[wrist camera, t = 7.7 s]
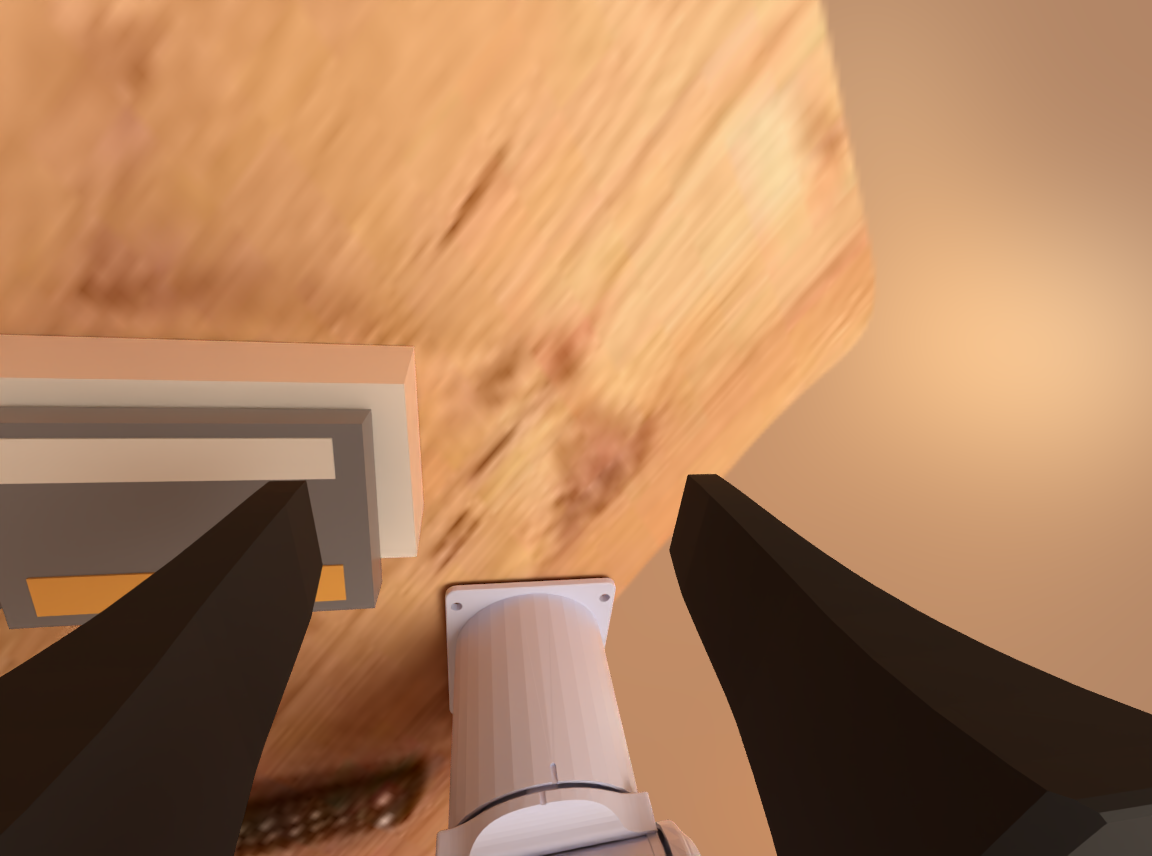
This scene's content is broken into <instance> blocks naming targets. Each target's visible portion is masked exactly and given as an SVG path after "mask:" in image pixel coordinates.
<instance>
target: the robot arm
mask: <svg viewBox="0 0 1152 856" xmlns="http://www.w3.org/2000/svg"><path fill="white" fill-rule="evenodd" d="M670 554H671V558H672V562H673V566H674V569H675V573H676V577H677V580H678V583H679V586H680V590H681V593H682V596H683V598H684V601H685V603H686V606H687V608H688V610H689V613H690V615H691V617H692V620H693V622H694V624H695V626H696V629H697V631H698V634H699V636H700V638H701V640H702V643H703V645H704V647H705V650H706V652H707V654H708V656H709V659H710V661H711V663H712V666H713V668H714V670H715V672H716V675H717V677H718V679H719V681H720V684H721V686H722V688H723V691H724V693H725V695H726V697H727V700H728V703H729V705H730V707H731V710H732V713H733V715H734V718H735V720H736V723H737V726H738V729H739V732H740V735H741V738H742V741H743V744H744V748H745V751H746V754H747V757H748V760H749V763H750V766H751V769H752V772H753V775H754V778H755V782H756V785H757V788H758V792H759V795H760V798H761V801H762V805H763V808H764V811H765V814H766V818H767V821H768V825H769V828H770V831H771V835H772V838H773V842H774V845H775V849H776V853H777V856H1152V715H1151V714H1149V713H1146V712H1144V711H1141V710H1139V709H1136V708H1133V707H1131V706H1128V705H1125V704H1123V703H1120V702H1118V701H1115V700H1112V699H1110V698H1107V697H1104V696H1102V695H1099V694H1097V693H1094V692H1091V691H1089V690H1086V689H1084V688H1081V687H1079V686H1076V685H1074V684H1071V683H1069V682H1067V681H1064V680H1062V679H1060V678H1058V677H1055V676H1053V675H1051V674H1048V673H1046V672H1044V671H1041V670H1039V669H1037V668H1035V667H1032V666H1030V665H1028V664H1025V663H1023V662H1021V661H1018V660H1016V659H1014V658H1012V657H1010V656H1008V655H1006V654H1003V653H1001V652H999V651H997V650H995V649H993V648H990V647H988V646H986V645H984V644H982V643H980V642H978V641H976V640H974V639H972V638H970V637H968V636H966V635H964V634H962V633H960V632H958V631H956V630H954V629H952V628H950V627H948V626H946V625H944V624H942V623H940V622H938V621H937V620H935V619H933V618H931V617H929V616H927V615H925V614H924V613H922V612H919V611H918V610H916V609H914V608H913V607H911V606H909V605H907V604H906V603H904V602H902V601H900V600H899V599H897V598H895V597H894V596H892V595H890V594H888V593H887V592H885V591H883V590H882V589H880V588H878V587H876V586H874V585H873V584H871V583H870V582H868V581H867V580H865V579H863V578H862V577H860V576H859V575H857V574H855V573H854V572H852V571H851V570H849V569H848V568H846V567H845V566H843V565H842V564H840V563H839V562H837V561H836V560H834V559H833V558H831V557H830V556H828V555H827V554H825V553H824V552H822V551H821V550H820V549H818V548H817V547H815V546H814V545H812V544H811V543H810V542H808V541H807V540H805V539H804V538H803V537H801V536H800V535H798V534H797V533H796V532H794V531H793V530H792V529H790V528H789V527H787V526H786V525H785V524H783V523H782V522H781V521H779V520H778V519H776V518H775V517H774V516H773V515H771V514H770V513H769V512H767V511H766V510H765V509H763V508H762V507H761V506H759V505H758V504H757V503H755V502H754V501H753V500H751V499H750V498H749V497H748V496H746V495H745V494H743V493H742V492H741V491H739V490H738V489H737V488H735V487H734V486H732V485H731V484H730V483H728V482H727V481H726V480H724V479H723V478H721V477H720V476H718V475H716V474H697V475H688V476H687V480H686V484H685V488H684V492H683V497H682V501H681V505H680V509H679V513H678V517H677V521H676V525H675V529H674V533H673V537H672V541H671V546H670ZM322 567H323V563H322V558H321V553H320V548H319V543H318V538H317V533H316V528H315V522H314V517H313V512H312V507H311V502H310V497H309V492H308V487H307V482H306V480H305V481H269V482H267V483H266V484H265V485H263V486H262V487H261V488H260V489H258V490H257V491H256V492H255V493H253V494H252V495H251V496H250V497H249V498H247V499H246V500H245V501H244V502H242V503H241V504H240V505H239V506H238V507H236V508H235V509H234V510H233V511H232V512H230V513H229V514H228V515H227V516H226V517H224V518H223V519H222V520H221V521H220V522H218V523H217V524H216V525H215V526H213V527H212V528H211V529H210V530H209V531H207V532H206V533H205V534H204V535H202V536H201V537H200V538H199V539H197V540H196V541H195V542H194V543H192V544H191V545H190V546H189V547H187V548H186V549H185V550H184V551H182V552H181V553H180V554H179V555H177V556H176V557H175V558H174V559H172V560H171V561H170V562H168V563H167V564H166V565H164V566H163V567H162V568H160V569H159V570H158V571H156V572H155V573H154V574H152V575H151V576H150V577H148V578H147V579H145V580H144V581H143V582H141V583H140V584H139V585H137V586H136V587H135V588H133V589H132V590H131V591H129V592H128V593H127V594H125V595H124V596H123V597H121V598H120V599H118V600H117V601H116V602H114V603H113V604H112V605H110V606H109V607H108V608H106V609H105V610H103V611H102V612H100V613H99V614H98V615H96V616H95V617H93V618H92V619H90V620H89V621H87V622H86V623H84V624H83V625H81V626H80V627H78V628H77V629H75V630H74V631H72V632H71V633H70V634H68V635H66V636H65V637H63V638H62V639H60V640H59V641H57V642H56V643H54V644H52V645H51V646H49V647H48V648H46V649H45V650H43V651H41V652H40V653H38V654H37V655H35V656H34V657H32V658H31V659H29V660H27V661H26V662H24V663H23V664H21V665H20V666H18V667H16V668H15V669H13V670H11V671H10V672H8V673H7V674H5V675H3V676H2V677H0V856H234V852H235V848H236V844H237V840H238V836H239V833H240V829H241V825H242V821H243V818H244V814H245V810H246V806H247V802H248V799H249V795H250V791H251V787H252V784H253V780H254V776H255V772H256V769H257V766H258V763H259V760H260V757H261V754H262V751H263V748H264V745H265V742H266V739H267V736H268V734H269V731H270V728H271V726H272V723H273V720H274V717H275V715H276V712H277V709H278V707H279V704H280V701H281V699H282V696H283V693H284V690H285V688H286V685H287V682H288V680H289V677H290V674H291V672H292V669H293V666H294V663H295V661H296V658H297V655H298V652H299V650H300V647H301V644H302V641H303V639H304V636H305V633H306V630H307V627H308V625H309V622H310V619H311V616H312V611H313V607H314V603H315V599H316V595H317V590H318V585H319V581H320V576H321V571H322ZM615 590H616V588H615V583H614V581H613V580H612V579H610V578H591V579H571V580H552V581H532V582H513V583H494V584H474V585H456V586H452V587H450V588H448V589H447V591H446V594H445V607H446V632H447V657H448V682H449V706H450V712H451V713H452V714H453V724H452V749H451V774H450V799H449V824H448V829H447V830H442V831H439V832H438V833H437V840H436V856H701V855H700V853H699V851H698V849H697V847H696V845H695V844H694V842H693V841H692V840H691V839H690V838H689V837H688V836H687V835H686V834H684V833H683V832H682V831H681V830H680V829H679V827H678V826H677V825H676V824H675V823H674V822H673V821H672V820H664V821H658V822H655V819H654V815H653V811H652V807H651V803H650V799H649V795H648V793H647V792H638V791H637V786H636V783H635V778H634V774H633V769H632V765H631V761H630V757H629V752H628V748H627V744H626V740H625V735H624V731H623V727H622V723H621V718H620V715H619V710H618V706H617V701H616V697H615V693H614V689H613V685H612V680H611V676H610V672H609V667H608V663H607V659H606V655H605V650H604V649H605V644H606V638H607V633H608V627H609V622H610V617H611V612H612V606H613V601H614V596H615ZM604 594H606V595H604ZM454 603H459V604H454Z"/></svg>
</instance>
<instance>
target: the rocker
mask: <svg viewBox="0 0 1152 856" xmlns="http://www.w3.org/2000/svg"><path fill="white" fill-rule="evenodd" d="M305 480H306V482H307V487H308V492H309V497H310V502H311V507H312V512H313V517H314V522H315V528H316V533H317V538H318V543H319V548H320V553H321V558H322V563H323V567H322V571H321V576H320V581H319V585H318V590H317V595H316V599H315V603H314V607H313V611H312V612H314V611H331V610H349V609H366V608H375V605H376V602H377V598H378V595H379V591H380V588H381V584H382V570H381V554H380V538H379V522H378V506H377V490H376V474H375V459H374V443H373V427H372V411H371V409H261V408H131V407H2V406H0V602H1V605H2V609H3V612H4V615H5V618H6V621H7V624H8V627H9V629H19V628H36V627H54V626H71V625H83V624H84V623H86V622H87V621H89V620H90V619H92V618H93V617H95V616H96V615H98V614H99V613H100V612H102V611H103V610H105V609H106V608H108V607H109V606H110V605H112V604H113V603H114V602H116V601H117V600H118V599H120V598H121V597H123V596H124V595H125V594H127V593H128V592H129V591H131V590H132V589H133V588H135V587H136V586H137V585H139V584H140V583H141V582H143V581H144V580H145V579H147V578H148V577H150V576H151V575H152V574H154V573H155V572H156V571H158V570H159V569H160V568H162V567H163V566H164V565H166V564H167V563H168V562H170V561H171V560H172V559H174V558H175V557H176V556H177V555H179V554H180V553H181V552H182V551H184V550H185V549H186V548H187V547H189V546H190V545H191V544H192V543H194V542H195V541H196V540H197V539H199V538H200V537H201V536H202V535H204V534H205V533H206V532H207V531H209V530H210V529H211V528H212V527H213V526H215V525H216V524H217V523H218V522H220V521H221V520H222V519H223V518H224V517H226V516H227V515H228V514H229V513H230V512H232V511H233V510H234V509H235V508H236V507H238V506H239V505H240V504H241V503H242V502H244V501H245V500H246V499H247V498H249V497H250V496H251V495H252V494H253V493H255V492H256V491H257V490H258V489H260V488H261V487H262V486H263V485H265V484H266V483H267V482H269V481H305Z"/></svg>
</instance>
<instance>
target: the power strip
mask: <svg viewBox="0 0 1152 856" xmlns="http://www.w3.org/2000/svg"><path fill="white" fill-rule="evenodd" d="M0 406H2V407H131V408H261V409H371V411H372V427H373V443H374V459H375V474H376V490H377V506H378V522H379V538H380V554H381V558H397V557H417V552H418V544H419V537H420V530H421V522H422V515H423V507H424V500H423V483H422V467H421V451H420V434H419V418H418V402H417V385H416V369H415V352H414V346H384V345H349V344H315V343H280V342H245V341H211V340H176V339H141V338H107V337H72V336H37V335H2V334H0Z"/></svg>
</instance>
